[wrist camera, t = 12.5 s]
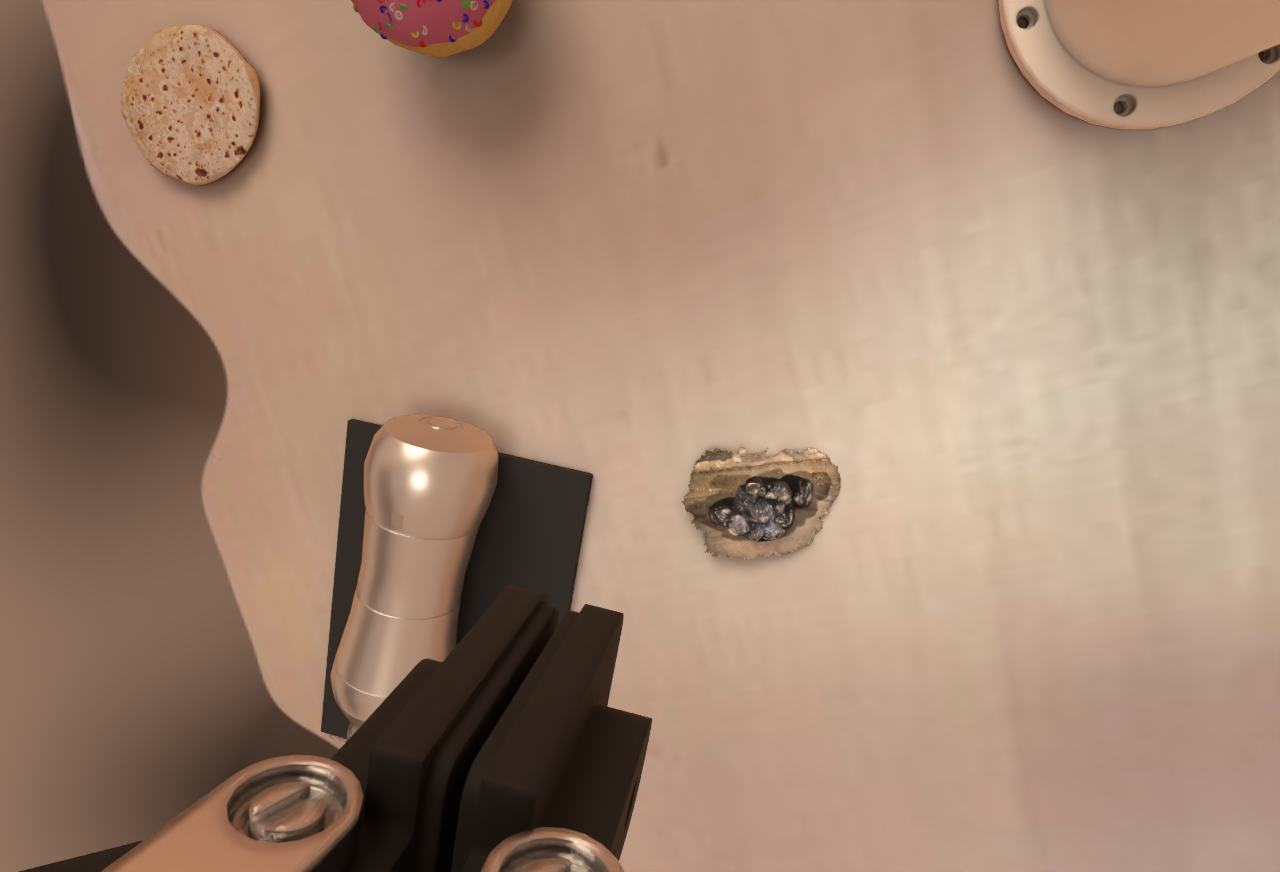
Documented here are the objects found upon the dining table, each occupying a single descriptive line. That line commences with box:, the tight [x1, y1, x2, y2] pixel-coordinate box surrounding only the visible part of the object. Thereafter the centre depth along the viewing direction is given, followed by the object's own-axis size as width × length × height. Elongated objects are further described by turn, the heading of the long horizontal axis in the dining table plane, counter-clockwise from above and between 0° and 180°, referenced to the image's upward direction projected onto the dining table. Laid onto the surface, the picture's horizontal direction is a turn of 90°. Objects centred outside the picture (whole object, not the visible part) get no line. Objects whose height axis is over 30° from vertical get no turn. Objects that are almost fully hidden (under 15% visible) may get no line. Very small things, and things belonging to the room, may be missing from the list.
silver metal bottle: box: [331, 415, 498, 741], centre depth 43 cm, size 6×7×20 cm
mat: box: [321, 419, 593, 739], centre depth 47 cm, size 20×14×1 cm
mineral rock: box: [682, 447, 840, 559], centre depth 41 cm, size 7×8×2 cm
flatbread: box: [121, 25, 260, 185], centre depth 43 cm, size 8×8×1 cm
